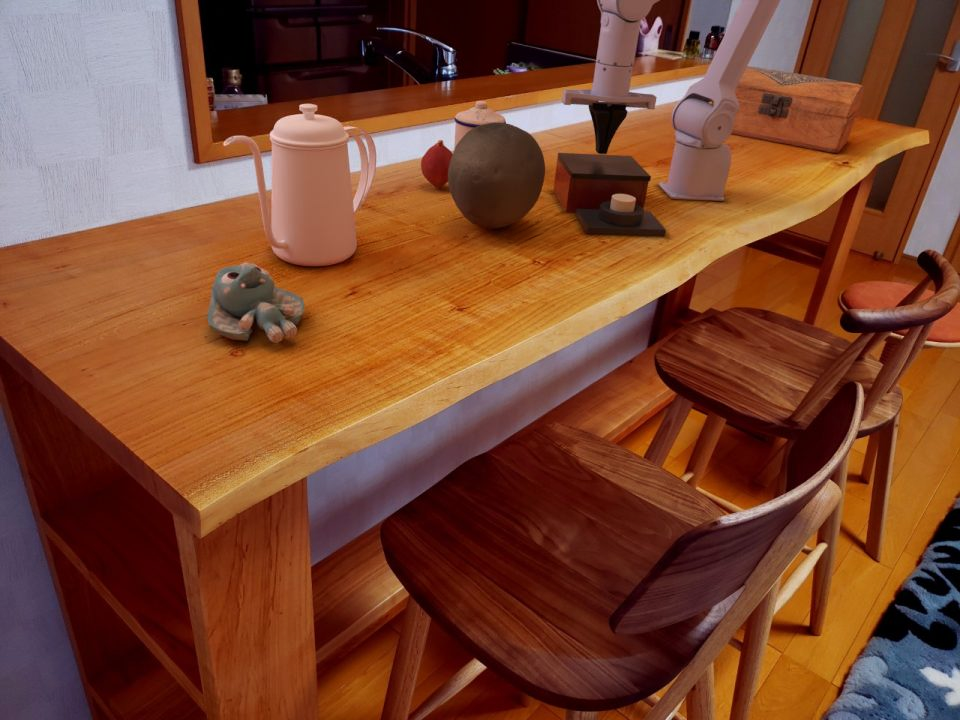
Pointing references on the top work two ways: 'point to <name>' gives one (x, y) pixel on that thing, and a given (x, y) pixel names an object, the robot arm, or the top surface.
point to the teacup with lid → (474, 119)
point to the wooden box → (796, 109)
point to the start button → (623, 203)
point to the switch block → (619, 222)
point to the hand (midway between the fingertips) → (601, 152)
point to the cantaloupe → (496, 174)
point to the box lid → (603, 167)
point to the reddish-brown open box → (593, 190)
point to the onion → (436, 164)
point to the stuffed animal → (252, 304)
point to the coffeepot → (312, 187)
